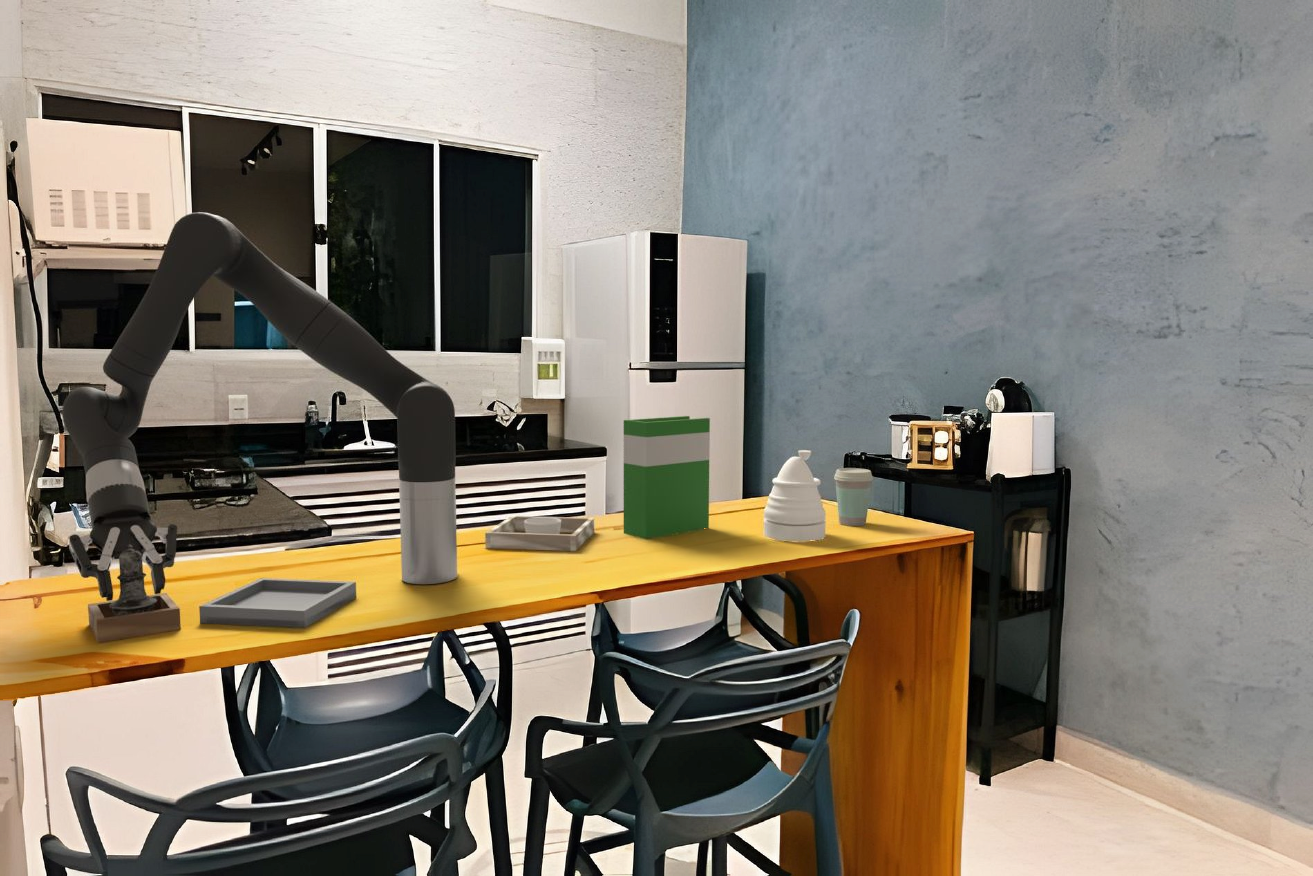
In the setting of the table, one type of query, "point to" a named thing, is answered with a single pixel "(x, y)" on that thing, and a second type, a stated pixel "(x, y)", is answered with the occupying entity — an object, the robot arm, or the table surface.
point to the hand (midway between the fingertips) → (134, 593)
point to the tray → (278, 603)
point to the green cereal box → (666, 476)
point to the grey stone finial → (132, 586)
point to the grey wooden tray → (539, 535)
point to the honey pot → (795, 504)
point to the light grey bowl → (543, 525)
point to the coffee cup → (853, 495)
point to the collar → (133, 620)
